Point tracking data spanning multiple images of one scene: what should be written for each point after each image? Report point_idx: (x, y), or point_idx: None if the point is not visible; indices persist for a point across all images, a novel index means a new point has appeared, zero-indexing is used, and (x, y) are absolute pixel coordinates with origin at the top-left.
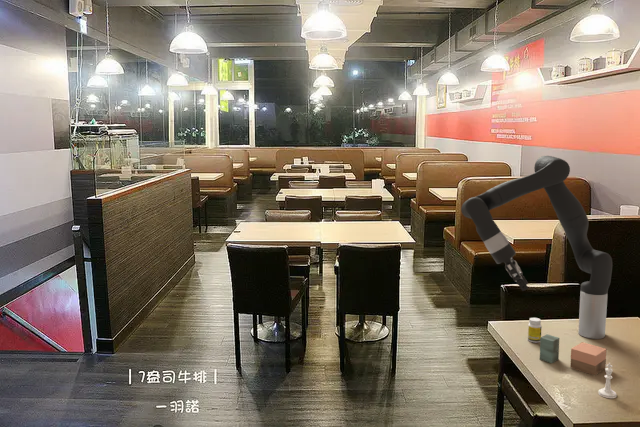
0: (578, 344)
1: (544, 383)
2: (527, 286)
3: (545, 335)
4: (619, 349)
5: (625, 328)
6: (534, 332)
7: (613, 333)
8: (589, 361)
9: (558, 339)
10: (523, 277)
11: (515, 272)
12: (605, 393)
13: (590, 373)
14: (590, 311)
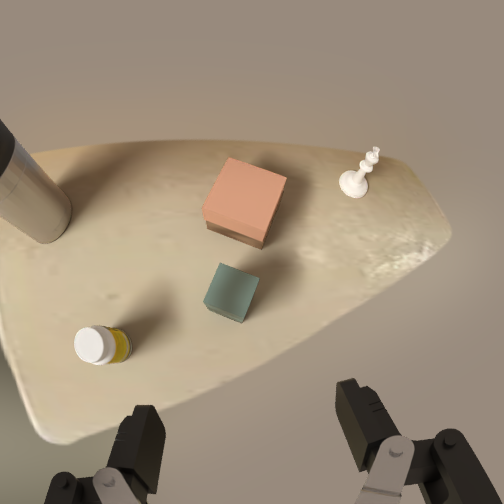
0: (224, 215)
1: (370, 293)
2: (342, 386)
3: (216, 305)
4: (116, 164)
5: None
6: (121, 345)
7: None
8: (279, 198)
9: (225, 265)
10: (141, 449)
11: (480, 481)
12: (365, 185)
13: (277, 208)
14: (35, 188)
